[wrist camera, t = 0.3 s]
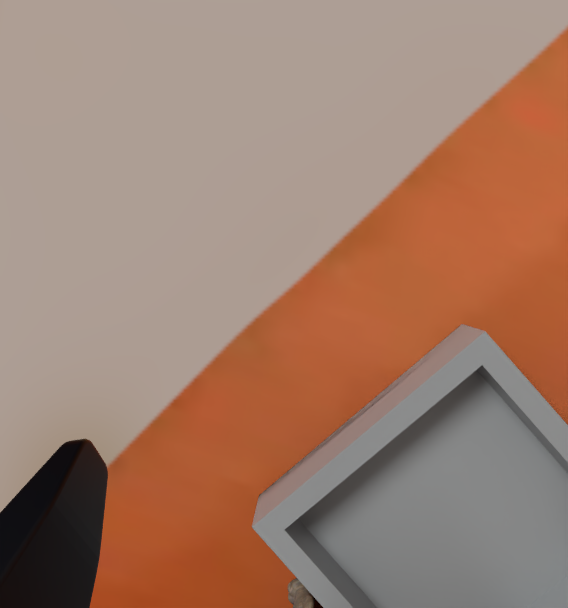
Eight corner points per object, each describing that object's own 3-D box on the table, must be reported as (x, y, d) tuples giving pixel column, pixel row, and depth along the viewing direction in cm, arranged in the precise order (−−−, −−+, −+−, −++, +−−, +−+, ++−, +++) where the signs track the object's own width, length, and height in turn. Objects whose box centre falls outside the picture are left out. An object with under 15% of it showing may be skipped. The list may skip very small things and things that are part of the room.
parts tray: (640, 527, 23) (690, 565, 20) (431, 689, 24) (448, 749, 21) (462, 324, 23) (485, 331, 20) (259, 495, 24) (251, 526, 21)
